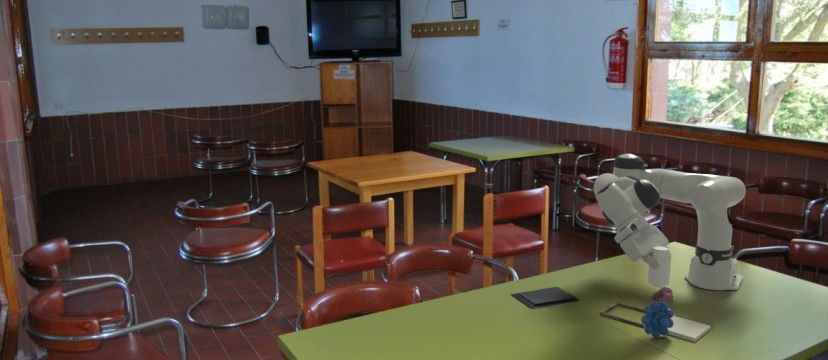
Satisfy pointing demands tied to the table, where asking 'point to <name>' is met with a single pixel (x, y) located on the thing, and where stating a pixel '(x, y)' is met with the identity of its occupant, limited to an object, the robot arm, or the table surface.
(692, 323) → the brown bars cream slab
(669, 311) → the grapes
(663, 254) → the beverage can
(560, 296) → the dark grey flat block
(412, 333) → the table surface
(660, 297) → the video game controller
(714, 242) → the robot arm
